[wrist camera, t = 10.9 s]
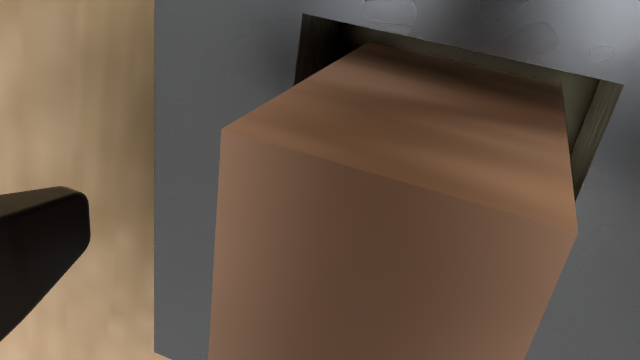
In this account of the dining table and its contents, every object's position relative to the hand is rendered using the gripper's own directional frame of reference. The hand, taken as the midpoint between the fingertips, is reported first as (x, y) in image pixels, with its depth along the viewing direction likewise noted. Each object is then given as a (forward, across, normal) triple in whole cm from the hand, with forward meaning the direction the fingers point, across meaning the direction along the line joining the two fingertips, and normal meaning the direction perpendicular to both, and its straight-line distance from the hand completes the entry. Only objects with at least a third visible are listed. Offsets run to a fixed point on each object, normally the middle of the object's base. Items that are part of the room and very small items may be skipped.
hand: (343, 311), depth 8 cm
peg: (+7, 0, 0) cm, 7 cm away
